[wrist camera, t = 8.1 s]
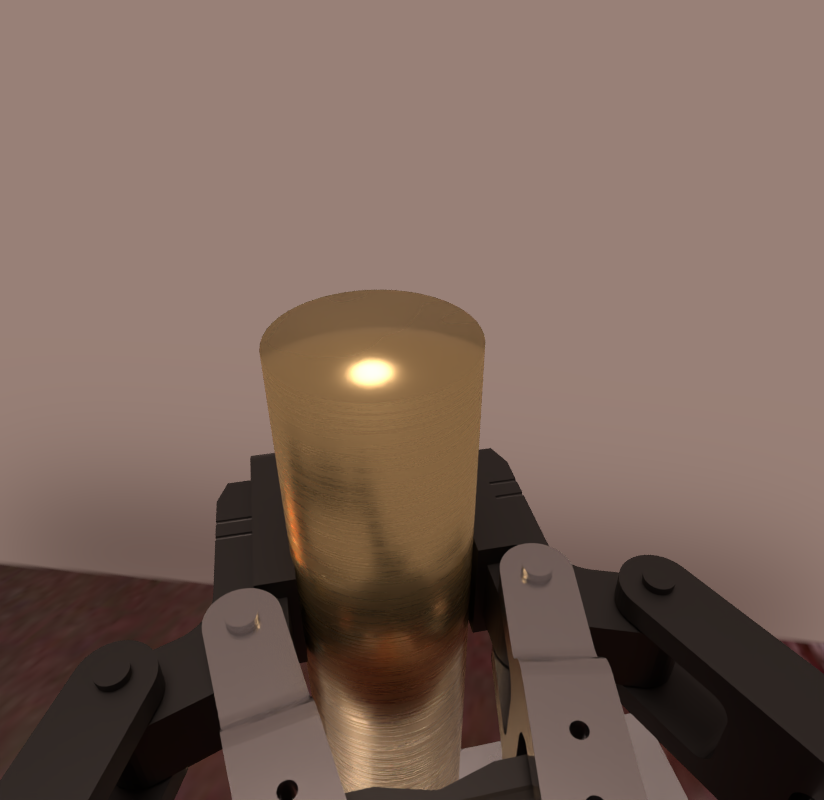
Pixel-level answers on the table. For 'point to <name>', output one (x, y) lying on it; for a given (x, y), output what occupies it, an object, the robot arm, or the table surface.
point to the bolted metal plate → (651, 759)
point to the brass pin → (381, 520)
